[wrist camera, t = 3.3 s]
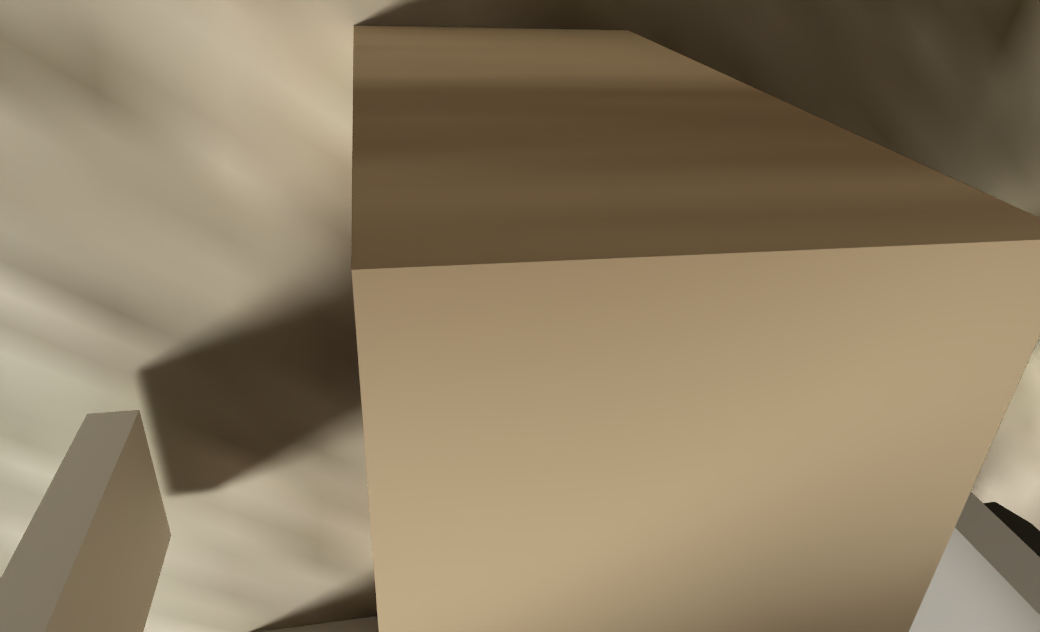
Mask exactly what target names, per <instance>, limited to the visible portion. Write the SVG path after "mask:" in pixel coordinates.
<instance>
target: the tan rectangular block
mask: <svg viewBox="0 0 1040 632" xmlns="http://www.w3.org/2000/svg"><path fill="white" fill-rule="evenodd" d="M351 272H352V285H353V298H354V311H355V325H356V338H357V351H358V364H359V378H360V391H361V404H362V417H363V430H364V444H365V457H366V470H367V483H368V497H369V510H370V523H371V536H372V550H373V563H374V576H375V589H376V603H377V616H374V617H366V618H359V619H351V620H344V621H336V622H328V623H321V624H313V625H306V626H298V627H291V628H283V629H276V630H268V631H260V632H909V630H910V628H911V625H912V623H913V621H914V619H915V616H916V614H917V612H918V610H919V607H920V605H921V603H922V601H923V598H924V596H925V594H926V592H927V589H928V587H929V585H930V582H931V580H932V578H933V576H934V573H935V571H936V569H937V567H938V564H939V562H940V560H941V558H942V555H943V553H944V551H945V549H946V546H947V544H948V542H949V540H950V537H951V535H952V533H953V530H954V528H955V526H956V524H957V521H958V519H959V517H960V515H961V512H962V510H963V508H964V506H965V503H966V501H967V499H968V497H969V494H970V492H971V490H972V488H973V485H974V483H975V481H976V478H977V476H978V474H979V472H980V469H981V467H982V465H983V463H984V460H985V458H986V456H987V454H988V451H989V449H990V447H991V445H992V442H993V440H994V438H995V436H996V433H997V431H998V429H999V426H1000V424H1001V422H1002V420H1003V417H1004V415H1005V413H1006V411H1007V408H1008V406H1009V404H1010V402H1011V399H1012V397H1013V395H1014V393H1015V390H1016V388H1017V386H1018V384H1019V381H1020V379H1021V377H1022V375H1023V372H1024V370H1025V368H1026V365H1027V363H1028V361H1029V359H1030V356H1031V354H1032V352H1033V350H1034V347H1035V345H1036V343H1037V341H1038V338H1039V336H1040V218H1038V217H1036V216H1034V215H1032V214H1030V213H1027V212H1025V211H1023V210H1021V209H1019V208H1016V207H1014V206H1012V205H1010V204H1008V203H1005V202H1003V201H1001V200H999V199H997V198H995V197H992V196H990V195H988V194H986V193H984V192H981V191H979V190H977V189H975V188H973V187H970V186H968V185H966V184H964V183H962V182H959V181H957V180H955V179H953V178H951V177H949V176H946V175H944V174H942V173H940V172H938V171H935V170H933V169H931V168H929V167H927V166H924V165H922V164H920V163H918V162H916V161H913V160H911V159H909V158H907V157H905V156H902V155H900V154H898V153H896V152H894V151H892V150H889V149H887V148H885V147H883V146H881V145H878V144H876V143H874V142H872V141H870V140H867V139H865V138H863V137H861V136H859V135H856V134H854V133H852V132H850V131H848V130H846V129H843V128H841V127H839V126H837V125H835V124H832V123H830V122H828V121H826V120H824V119H821V118H819V117H817V116H815V115H813V114H810V113H808V112H806V111H804V110H802V109H799V108H797V107H795V106H793V105H791V104H789V103H786V102H784V101H782V100H780V99H778V98H775V97H773V96H771V95H769V94H767V93H764V92H762V91H760V90H758V89H756V88H753V87H751V86H749V85H747V84H745V83H743V82H740V81H738V80H736V79H734V78H732V77H729V76H727V75H725V74H723V73H721V72H718V71H716V70H714V69H712V68H710V67H707V66H705V65H703V64H701V63H699V62H696V61H694V60H692V59H690V58H688V57H686V56H683V55H681V54H679V53H677V52H675V51H672V50H670V49H668V48H666V47H664V46H661V45H659V44H657V43H655V42H653V41H650V40H648V39H646V38H644V37H642V36H640V35H637V34H635V33H633V32H631V31H629V30H580V29H523V28H466V27H409V26H354V48H353V152H352V256H351Z"/></svg>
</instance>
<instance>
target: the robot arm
mask: <svg viewBox="0 0 1040 632" xmlns="http://www.w3.org/2000/svg"><path fill="white" fill-rule="evenodd" d="M170 537H171V533H170V529H169V525H168V521H167V517H166V513H165V509H164V506H163V502H162V498H161V494H160V490H159V486H158V482H157V478H156V474H155V470H154V466H153V462H152V458H151V454H150V451H149V447H148V443H147V439H146V435H145V431H144V427H143V423H142V419H141V415H140V411H139V410H132V411H119V412H106V413H92V414H87V415H86V417H85V419H84V421H83V423H82V425H81V427H80V429H79V431H78V432H77V434H76V436H75V438H74V440H73V442H72V444H71V446H70V448H69V450H68V451H67V453H66V455H65V457H64V459H63V461H62V463H61V465H60V467H59V469H58V471H57V472H56V474H55V476H54V478H53V480H52V482H51V484H50V486H49V488H48V490H47V492H46V493H45V495H44V497H43V499H42V501H41V503H40V505H39V507H38V509H37V511H36V512H35V514H34V516H33V518H32V520H31V522H30V524H29V526H28V528H27V530H26V532H25V533H24V535H23V537H22V539H21V541H20V543H19V545H18V547H17V549H16V551H15V552H14V554H13V556H12V558H11V560H10V562H9V564H8V566H7V568H6V570H5V572H4V573H3V575H2V577H1V579H0V632H143V630H144V627H145V624H146V620H147V617H148V613H149V610H150V606H151V603H152V599H153V596H154V593H155V589H156V586H157V582H158V579H159V575H160V572H161V568H162V565H163V562H164V558H165V555H166V551H167V548H168V544H169V541H170ZM909 632H1040V531H1039V530H1038V529H1037V528H1036V527H1034V526H1033V525H1032V524H1031V523H1029V522H1028V521H1026V520H1024V519H1023V518H1021V517H1019V516H1018V515H1016V514H1014V513H1013V512H1011V511H1009V510H1008V509H1006V508H1004V507H1003V506H1001V505H999V504H998V503H996V502H991V503H982V502H981V501H980V500H979V499H978V498H977V497H976V496H975V495H974V494H973V493H972V492H970V494H969V497H968V499H967V501H966V503H965V506H964V508H963V510H962V512H961V515H960V517H959V519H958V521H957V524H956V526H955V528H954V530H953V533H952V535H951V537H950V540H949V542H948V544H947V546H946V549H945V551H944V553H943V555H942V558H941V560H940V562H939V564H938V567H937V569H936V571H935V573H934V576H933V578H932V580H931V582H930V585H929V587H928V589H927V592H926V594H925V596H924V598H923V601H922V603H921V605H920V607H919V610H918V612H917V614H916V616H915V619H914V621H913V623H912V625H911V628H910V630H909Z"/></svg>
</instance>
